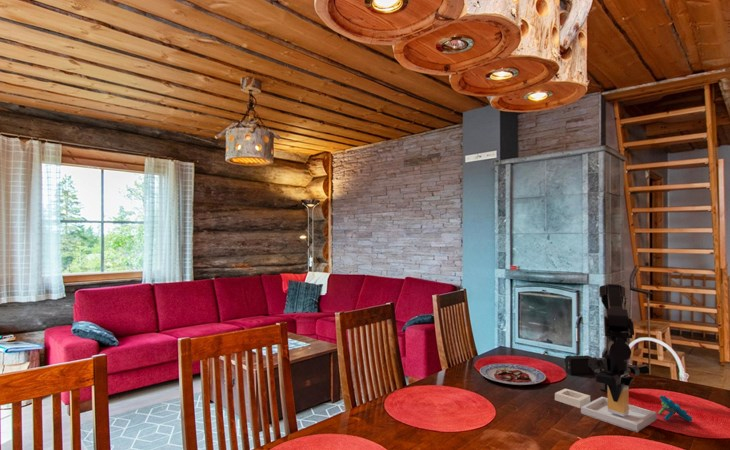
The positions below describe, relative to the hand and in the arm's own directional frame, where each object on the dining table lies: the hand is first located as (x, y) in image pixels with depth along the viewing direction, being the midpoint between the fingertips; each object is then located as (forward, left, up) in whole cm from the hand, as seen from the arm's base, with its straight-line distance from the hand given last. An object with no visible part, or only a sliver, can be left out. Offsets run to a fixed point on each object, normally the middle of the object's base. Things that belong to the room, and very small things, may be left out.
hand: (618, 400), depth 144 cm
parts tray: (0, 0, -5) cm, 5 cm away
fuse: (0, 0, -4) cm, 4 cm away
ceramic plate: (-5, -43, -6) cm, 44 cm away
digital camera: (-33, -30, -6) cm, 45 cm away
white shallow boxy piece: (0, -15, -5) cm, 16 cm away
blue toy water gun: (-12, +12, -6) cm, 18 cm away
